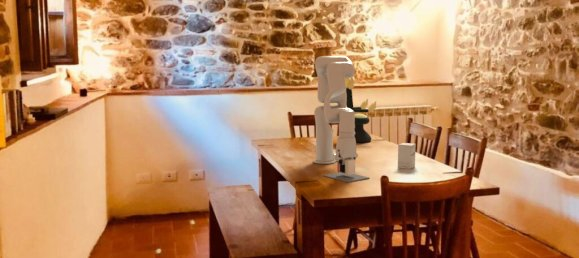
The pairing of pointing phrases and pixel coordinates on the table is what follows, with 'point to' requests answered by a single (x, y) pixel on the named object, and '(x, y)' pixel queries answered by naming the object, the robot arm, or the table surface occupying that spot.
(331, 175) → the mat
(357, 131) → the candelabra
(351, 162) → the card box
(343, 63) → the robot arm
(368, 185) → the table surface
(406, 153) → the supplement box
